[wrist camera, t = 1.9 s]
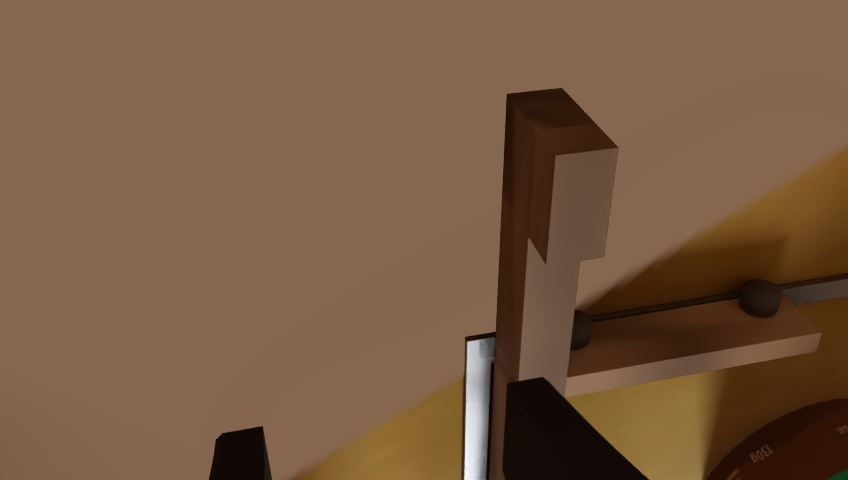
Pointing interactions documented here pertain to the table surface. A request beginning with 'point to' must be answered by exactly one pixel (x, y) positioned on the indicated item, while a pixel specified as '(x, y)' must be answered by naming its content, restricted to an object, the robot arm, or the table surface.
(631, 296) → the table surface
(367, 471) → the table surface
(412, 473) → the table surface
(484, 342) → the track
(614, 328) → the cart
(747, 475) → the food container
